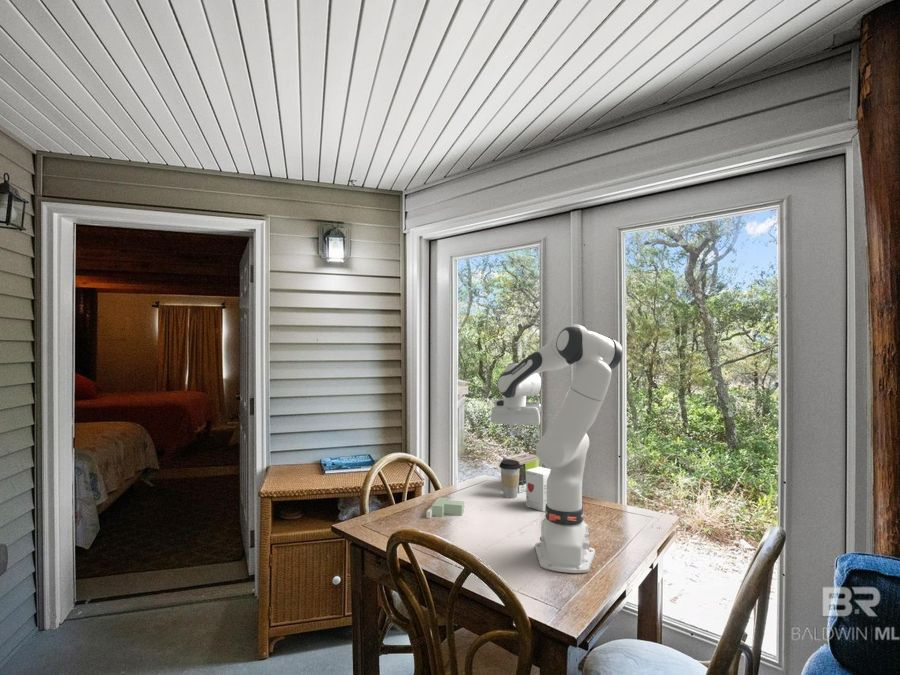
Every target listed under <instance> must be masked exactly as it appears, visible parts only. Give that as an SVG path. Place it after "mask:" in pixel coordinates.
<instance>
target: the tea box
mask: <svg viewBox="0 0 900 675" xmlns="http://www.w3.org/2000/svg"><path fill="white" fill-rule="evenodd" d="M503 460H515V461H518V462H519V464H520V466H521V468H520V470H519V473H520V474H519V485H518V492H517V494H520V493H523V492H526V470H528V469H532V468H536V467H540V460H539V459H538V457H537V454H536V455H535V454H530V453H527V452H520V453H517V454H516V453H515V454H512V455H509V456H505V457H504V456H503V457H502V461H503Z"/></svg>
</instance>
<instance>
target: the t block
mask: <svg viewBox="0 0 900 675" xmlns="http://www.w3.org/2000/svg"><path fill="white" fill-rule="evenodd" d="M438 498H439V499H438ZM438 498H437V499H438V500H437V499H436V500H437V501H436V500H435V501H436V502H435V501H434V502H435V503H433V504H432V505H431V506H432V517H439V518H441V517H442V516H443V517H444V515H449V516H461V517H462V516H463V514H465V507H464V502H457V501H449V499H450V498H449V497H438Z"/></svg>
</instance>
